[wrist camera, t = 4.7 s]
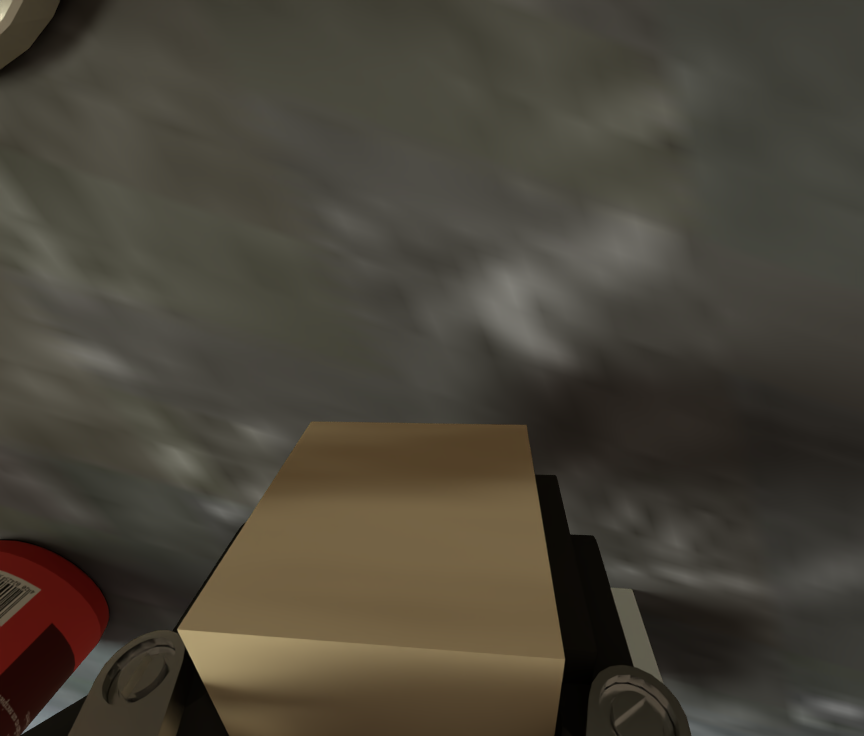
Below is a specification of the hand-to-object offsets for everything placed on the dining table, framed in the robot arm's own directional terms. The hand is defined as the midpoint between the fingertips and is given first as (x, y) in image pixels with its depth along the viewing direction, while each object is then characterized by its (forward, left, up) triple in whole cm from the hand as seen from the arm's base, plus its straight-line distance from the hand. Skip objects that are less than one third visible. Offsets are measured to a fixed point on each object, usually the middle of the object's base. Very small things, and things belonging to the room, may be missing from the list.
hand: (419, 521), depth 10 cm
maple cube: (0, 0, -1) cm, 1 cm away
